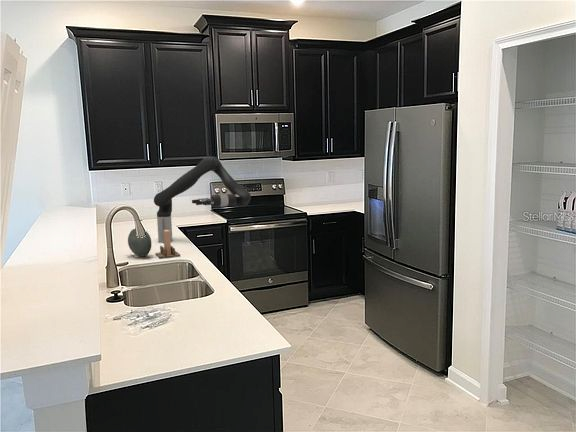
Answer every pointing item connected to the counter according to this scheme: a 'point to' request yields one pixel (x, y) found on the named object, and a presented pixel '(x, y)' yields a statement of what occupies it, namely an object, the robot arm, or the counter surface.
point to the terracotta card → (167, 241)
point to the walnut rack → (163, 253)
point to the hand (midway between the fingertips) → (194, 202)
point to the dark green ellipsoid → (139, 244)
